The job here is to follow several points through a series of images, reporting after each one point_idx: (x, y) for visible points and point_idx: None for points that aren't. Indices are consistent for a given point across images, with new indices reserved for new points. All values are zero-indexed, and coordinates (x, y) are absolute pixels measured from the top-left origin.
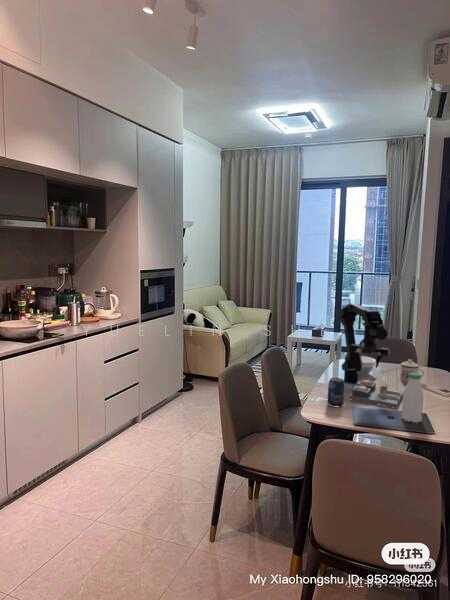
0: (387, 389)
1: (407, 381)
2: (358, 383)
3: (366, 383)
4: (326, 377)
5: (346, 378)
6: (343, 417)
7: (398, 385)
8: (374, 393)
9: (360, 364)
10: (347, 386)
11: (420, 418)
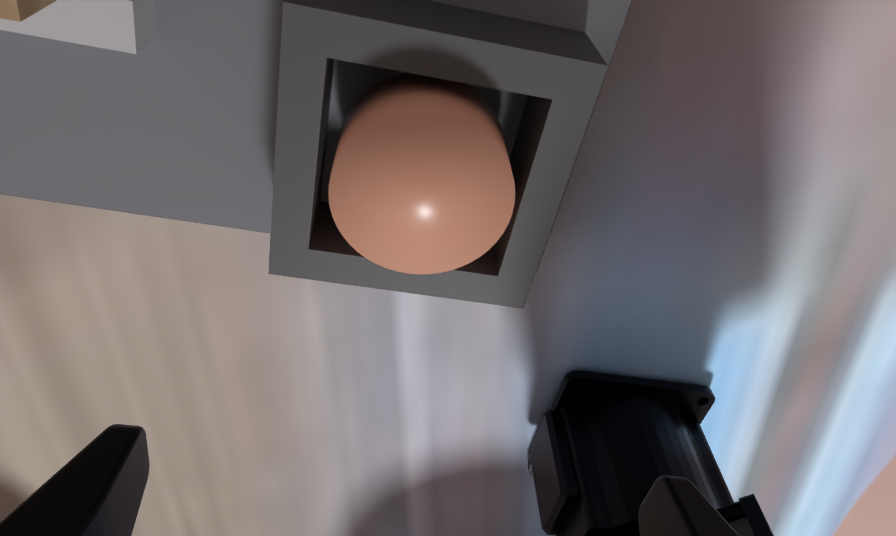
0: (83, 196)
1: None
2: (588, 100)
3: (427, 104)
4: (874, 458)
5: (685, 432)
6: None
7: None
8: None
9: (676, 506)
10: (683, 254)
11: None
